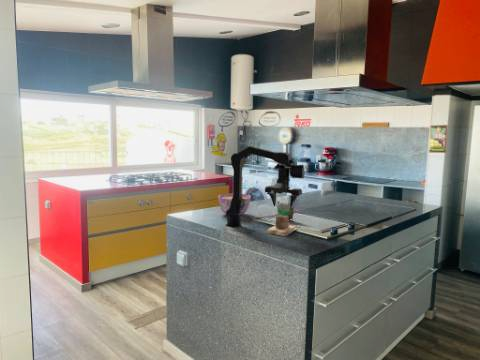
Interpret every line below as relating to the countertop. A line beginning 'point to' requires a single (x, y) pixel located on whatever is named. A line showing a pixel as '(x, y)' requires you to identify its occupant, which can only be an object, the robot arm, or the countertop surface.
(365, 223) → the countertop surface
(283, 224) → the walnut block
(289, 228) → the oak base
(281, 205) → the food container
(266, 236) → the countertop surface
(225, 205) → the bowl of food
